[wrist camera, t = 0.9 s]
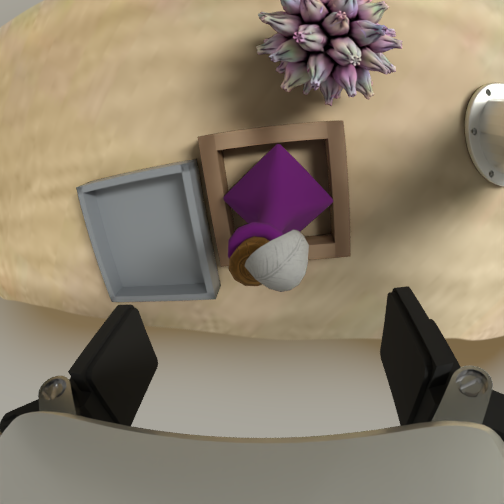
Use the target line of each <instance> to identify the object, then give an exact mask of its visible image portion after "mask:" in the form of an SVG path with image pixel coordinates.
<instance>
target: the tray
mask: <svg viewBox="0 0 504 504" xmlns="http://www.w3.org/2000/svg"><path fill="white" fill-rule="evenodd" d="M76 188H77V193H78V197H79V201H80V205H81V208H82V212H83V216H84V220H85V223H86V227H87V230H88V234H89V237H90V240H91V243H92V247H93V250H94V253H95V256H96V259H97V262H98V265H99V268H100V271H101V274H102V277H103V280H104V282H105V285H106V288H107V291H108V293H109V296H110V298H111V301H112V302H146V301H182V300H207V299H216V297H217V294H218V292H219V289H220V286H221V284H220V280H219V275H218V270H217V265H216V260H215V255H214V250H213V245H212V240H211V235H210V230H209V224H208V219H207V214H206V208H205V203H204V198H203V192H202V187H201V181H200V175H199V170H198V164H197V159H193V160H187V161H182V162H176V163H171V164H166V165H161V166H156V167H151V168H146V169H141V170H137V171H132V172H128V173H123V174H119V175H115V176H111V177H106V178H102V179H98V180H95V181H91V182H88V183H86V184H83V185H81V186H79V187H76Z"/></svg>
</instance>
